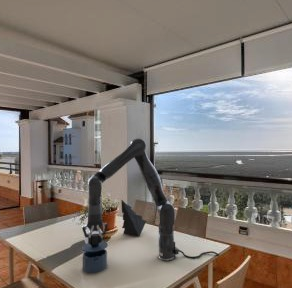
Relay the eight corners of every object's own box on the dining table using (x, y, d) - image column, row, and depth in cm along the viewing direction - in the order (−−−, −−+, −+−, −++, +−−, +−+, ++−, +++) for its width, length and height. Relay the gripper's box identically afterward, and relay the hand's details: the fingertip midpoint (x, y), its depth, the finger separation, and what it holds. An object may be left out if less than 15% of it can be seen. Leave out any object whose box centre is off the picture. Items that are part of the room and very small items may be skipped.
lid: (105, 241, 144) (105, 229, 144) (109, 250, 131) (109, 237, 131) (81, 245, 138) (81, 232, 138) (82, 254, 126) (82, 241, 126)
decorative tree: (124, 237, 190) (107, 206, 172) (132, 222, 202) (117, 191, 183) (141, 240, 184) (125, 208, 166) (148, 224, 196) (134, 192, 178)
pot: (104, 259, 145) (104, 245, 145) (109, 273, 129) (109, 257, 129) (81, 263, 140) (81, 248, 140) (84, 278, 124) (84, 261, 124)
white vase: (88, 251, 157) (87, 228, 157) (104, 251, 156) (104, 228, 157) (81, 259, 146) (81, 233, 146) (99, 259, 146) (98, 233, 146)
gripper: (107, 209, 141) (107, 239, 141) (80, 212, 136) (80, 243, 135) (109, 212, 135) (109, 243, 134) (81, 215, 129) (81, 248, 128)
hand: (94, 243), depth 135 cm, fingers closed on lid, 4 cm apart
